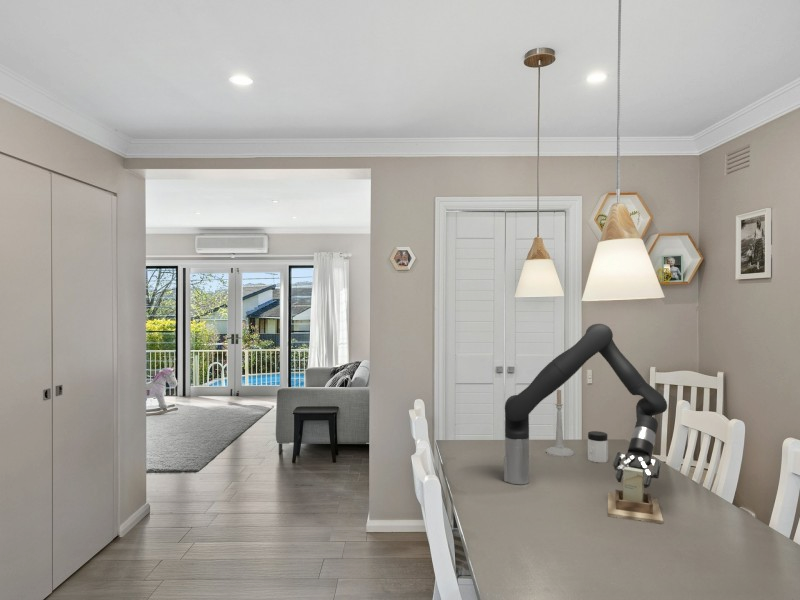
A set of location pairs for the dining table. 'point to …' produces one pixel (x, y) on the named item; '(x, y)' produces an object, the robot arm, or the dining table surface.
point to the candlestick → (559, 433)
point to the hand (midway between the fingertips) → (631, 484)
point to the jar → (597, 447)
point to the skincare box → (633, 484)
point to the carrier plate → (634, 508)
